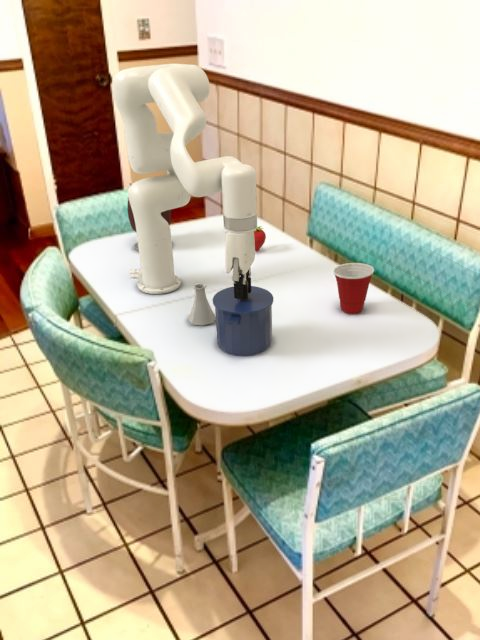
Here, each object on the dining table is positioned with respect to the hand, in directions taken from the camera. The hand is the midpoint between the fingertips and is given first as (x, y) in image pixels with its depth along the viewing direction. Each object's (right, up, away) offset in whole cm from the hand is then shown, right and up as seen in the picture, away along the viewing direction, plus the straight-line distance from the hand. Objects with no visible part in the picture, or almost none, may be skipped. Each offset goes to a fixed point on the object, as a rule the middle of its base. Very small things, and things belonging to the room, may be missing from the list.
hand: (242, 294), depth 152 cm
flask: (-11, -5, +17) cm, 21 cm away
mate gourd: (-33, +22, +63) cm, 74 cm away
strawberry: (+3, +19, +57) cm, 61 cm away
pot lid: (0, -1, +1) cm, 2 cm away
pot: (0, -11, +7) cm, 13 cm away
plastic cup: (+29, -2, +21) cm, 36 cm away
